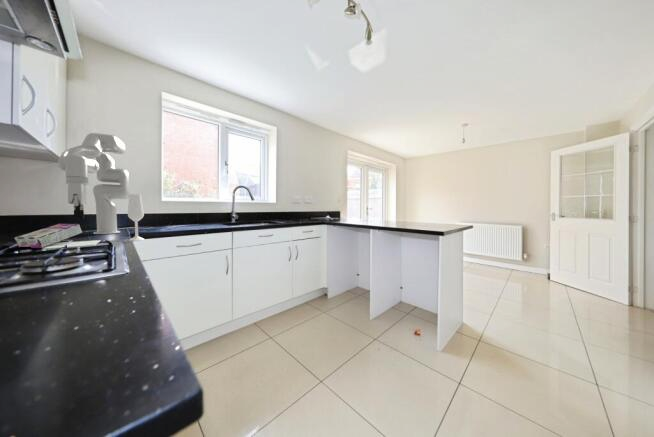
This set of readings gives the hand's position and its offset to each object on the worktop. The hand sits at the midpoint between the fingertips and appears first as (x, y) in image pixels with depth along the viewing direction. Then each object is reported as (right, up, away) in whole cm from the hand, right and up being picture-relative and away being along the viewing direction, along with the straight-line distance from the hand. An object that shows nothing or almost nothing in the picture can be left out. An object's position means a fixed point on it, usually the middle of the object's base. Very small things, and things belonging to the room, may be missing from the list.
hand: (79, 218), depth 115 cm
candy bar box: (-1, -5, -2) cm, 5 cm away
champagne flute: (+21, -12, +9) cm, 26 cm away
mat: (+7, -12, -8) cm, 16 cm away
